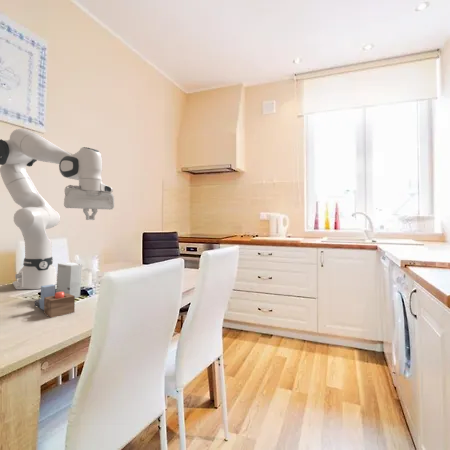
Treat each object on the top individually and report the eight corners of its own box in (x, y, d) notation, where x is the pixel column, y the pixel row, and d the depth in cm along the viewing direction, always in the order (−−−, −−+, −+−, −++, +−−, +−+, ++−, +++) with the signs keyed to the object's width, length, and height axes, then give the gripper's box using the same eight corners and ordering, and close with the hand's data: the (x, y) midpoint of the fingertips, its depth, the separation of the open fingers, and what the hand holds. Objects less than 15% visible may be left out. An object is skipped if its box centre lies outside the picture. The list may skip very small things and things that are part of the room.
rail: (34, 305, 116) (34, 300, 116) (40, 304, 117) (40, 299, 117) (48, 312, 108) (48, 307, 108) (54, 311, 109) (54, 306, 109)
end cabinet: (44, 313, 107) (44, 297, 106) (67, 308, 113) (67, 293, 113) (51, 317, 103) (51, 300, 103) (74, 312, 109) (74, 296, 109)
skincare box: (55, 297, 127) (55, 263, 126) (67, 294, 132) (68, 261, 132) (70, 300, 124) (70, 265, 123) (81, 296, 129) (82, 263, 129)
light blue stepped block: (39, 308, 110) (39, 285, 110) (50, 305, 114) (51, 283, 113) (45, 311, 107) (45, 287, 107) (56, 308, 110) (56, 286, 110)
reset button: (53, 300, 108) (53, 292, 107) (62, 299, 110) (62, 291, 110) (57, 302, 106) (57, 294, 106) (65, 300, 108) (65, 292, 108)
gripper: (68, 184, 113) (68, 220, 114) (116, 188, 129) (116, 220, 130) (61, 184, 117) (60, 219, 118) (108, 189, 133) (108, 219, 134)
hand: (90, 219), depth 124 cm, fingers closed
